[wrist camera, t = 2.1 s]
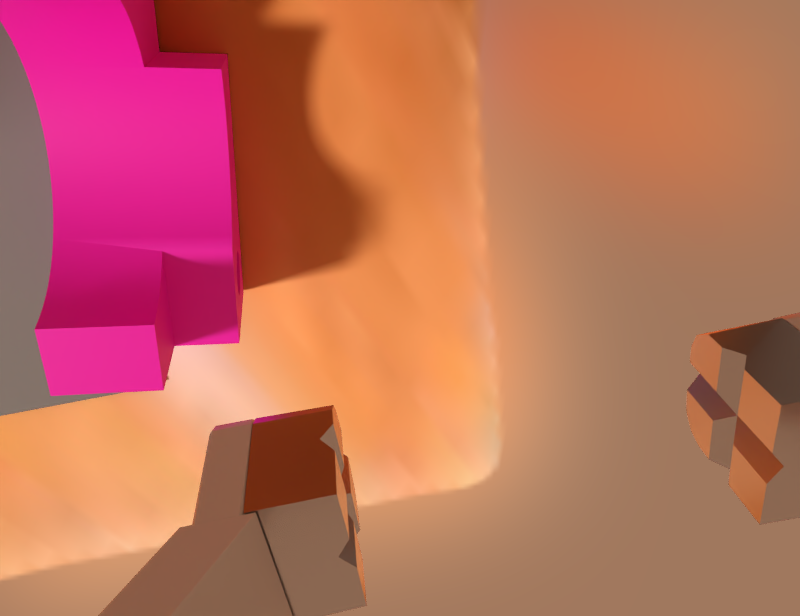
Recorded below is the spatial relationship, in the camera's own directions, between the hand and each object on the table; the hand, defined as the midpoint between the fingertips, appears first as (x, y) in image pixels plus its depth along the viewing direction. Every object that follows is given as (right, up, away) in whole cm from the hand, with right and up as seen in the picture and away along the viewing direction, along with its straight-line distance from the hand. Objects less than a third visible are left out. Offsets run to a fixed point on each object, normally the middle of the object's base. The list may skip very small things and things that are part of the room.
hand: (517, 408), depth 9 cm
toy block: (-11, +9, +18) cm, 23 cm away
